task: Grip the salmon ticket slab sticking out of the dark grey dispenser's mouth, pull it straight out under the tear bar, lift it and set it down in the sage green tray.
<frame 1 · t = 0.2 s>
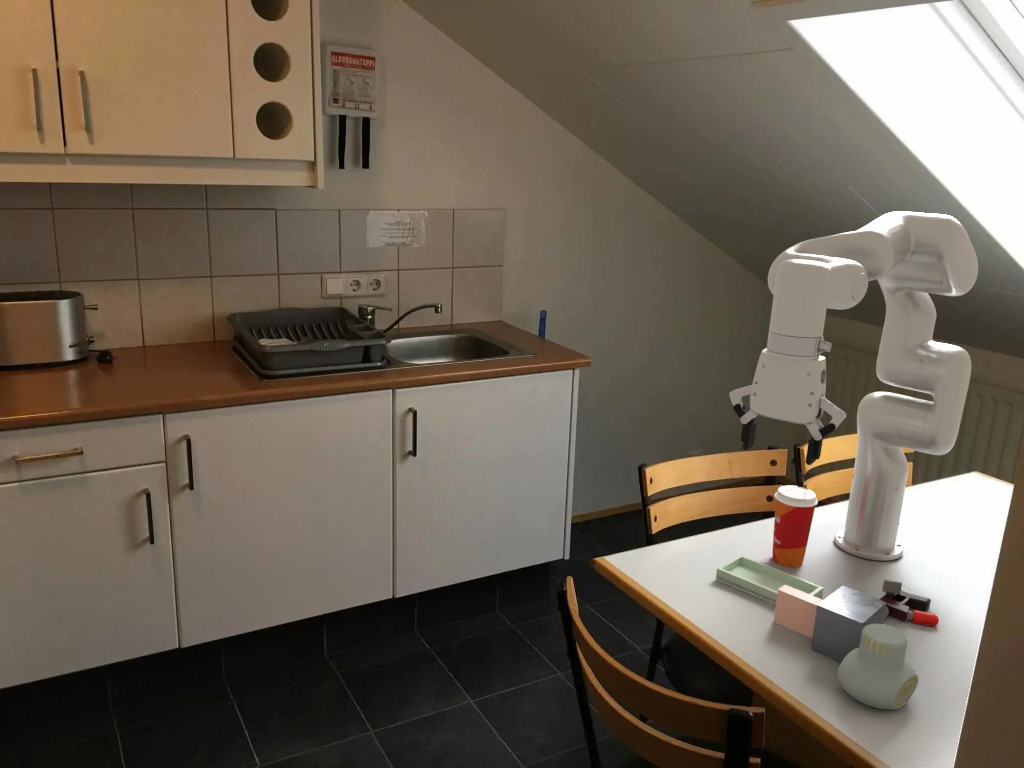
hand: (778, 454, 128), 30 cm above the table, tool pointing down, fingers open, 9 cm apart
tray: (768, 589, 149), on the table
air freshener: (873, 696, 120), on the table
ticket: (808, 633, 136), on the table
toy gun: (905, 619, 142), on the table
dispenser: (844, 648, 132), on the table
paper cup: (787, 561, 160), on the table
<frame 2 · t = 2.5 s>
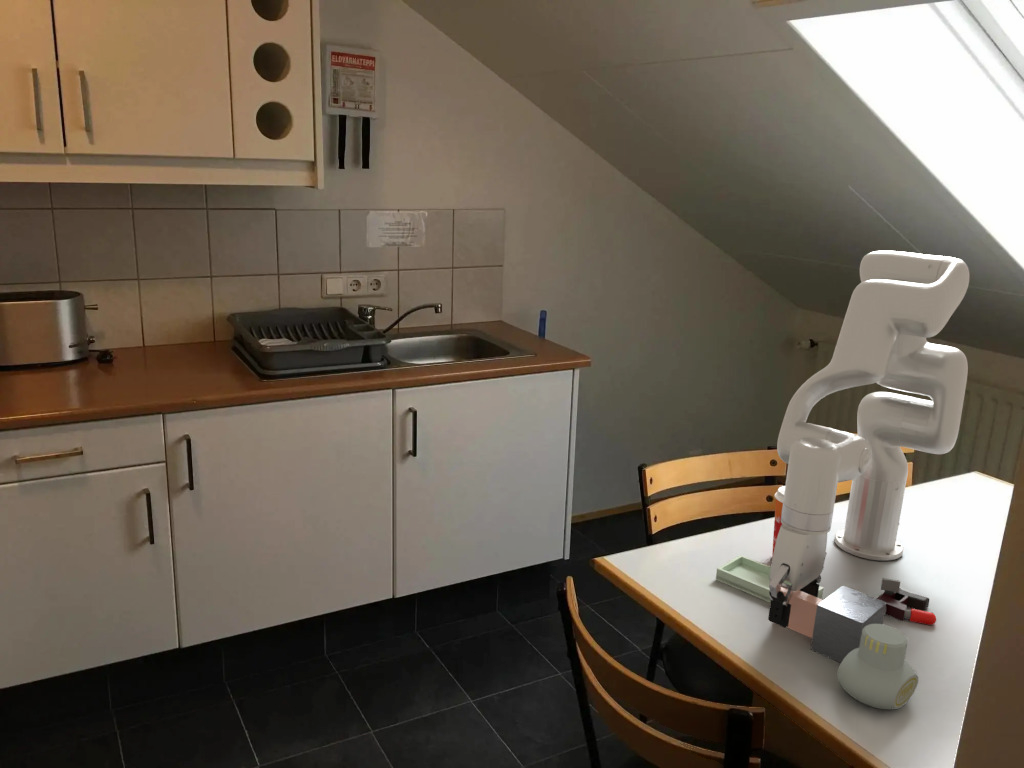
hand: (792, 613, 137), 2 cm above the table, tool pointing down, fingers open, 9 cm apart
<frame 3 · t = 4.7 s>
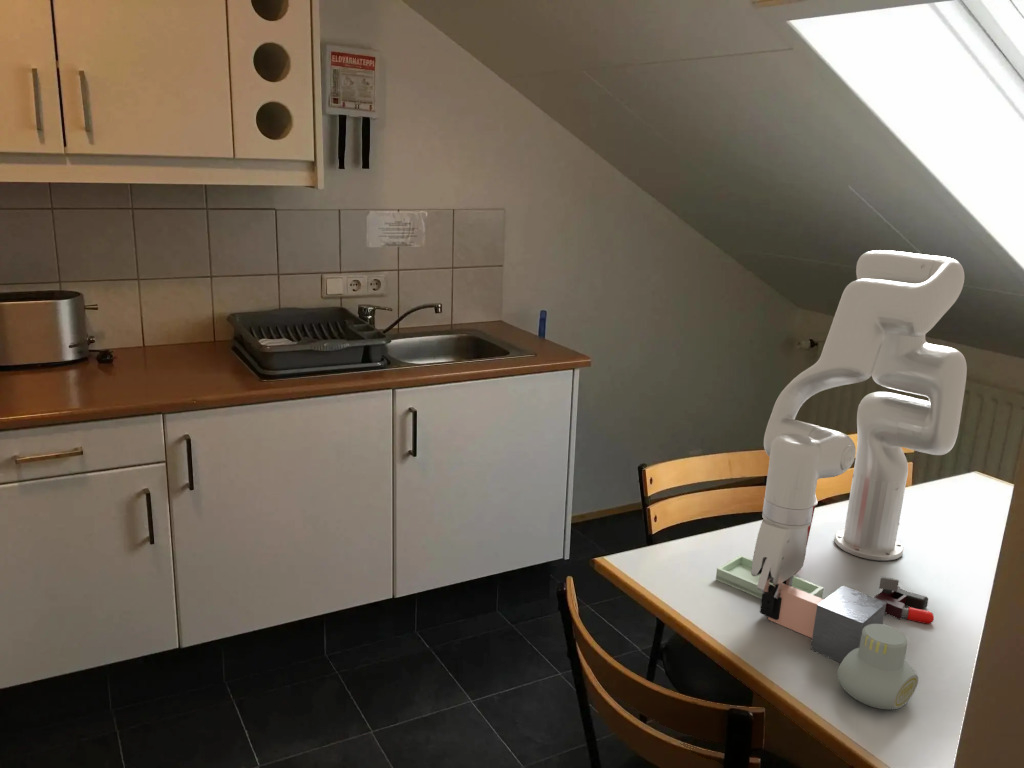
hand: (773, 612, 139), 1 cm above the table, tool pointing down, fingers closed on ticket, 2 cm apart
ticket: (803, 630, 136), on the table, touching gripper
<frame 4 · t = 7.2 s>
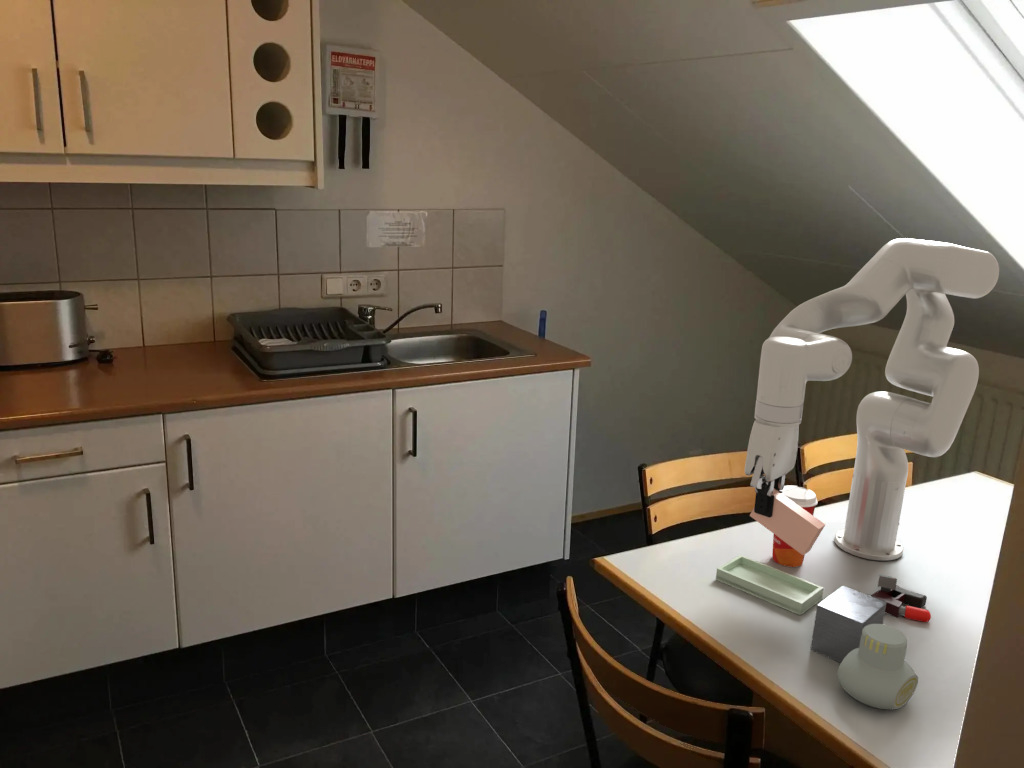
hand: (766, 511, 145), 15 cm above the table, tool pointing down, fingers closed on ticket
ticket: (779, 533, 144), point 12 cm above the table, tilted 20°, touching gripper
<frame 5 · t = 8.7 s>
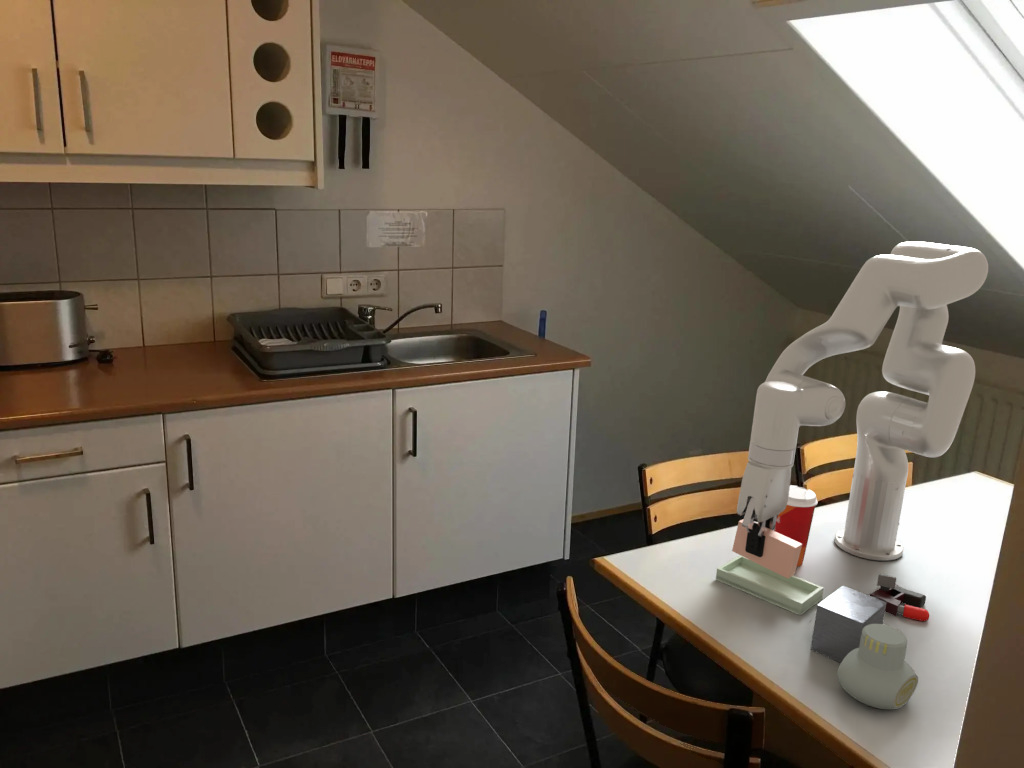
hand: (757, 551, 149), 6 cm above the table, tool pointing down, fingers closed on ticket
ticket: (762, 562, 148), point 5 cm above the table, tilted 5°, touching gripper
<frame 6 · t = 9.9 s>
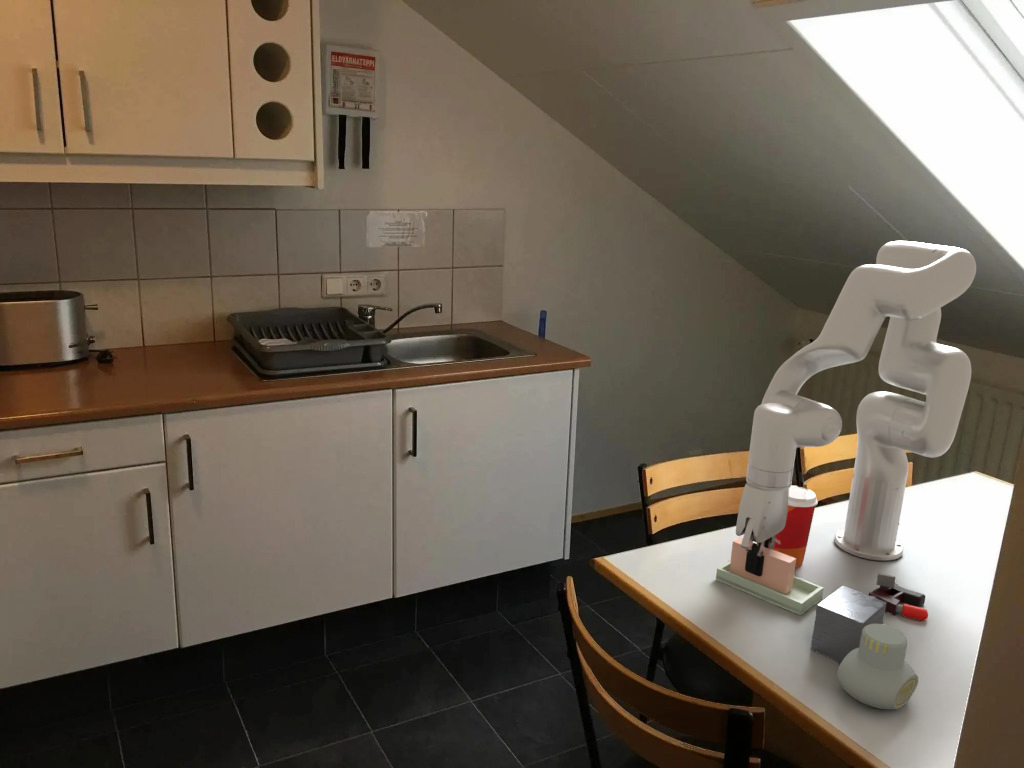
hand: (757, 570, 150), 3 cm above the table, tool pointing down, fingers closed on ticket, 1 cm apart
ticket: (760, 580, 150), point 1 cm above the table, touching gripper
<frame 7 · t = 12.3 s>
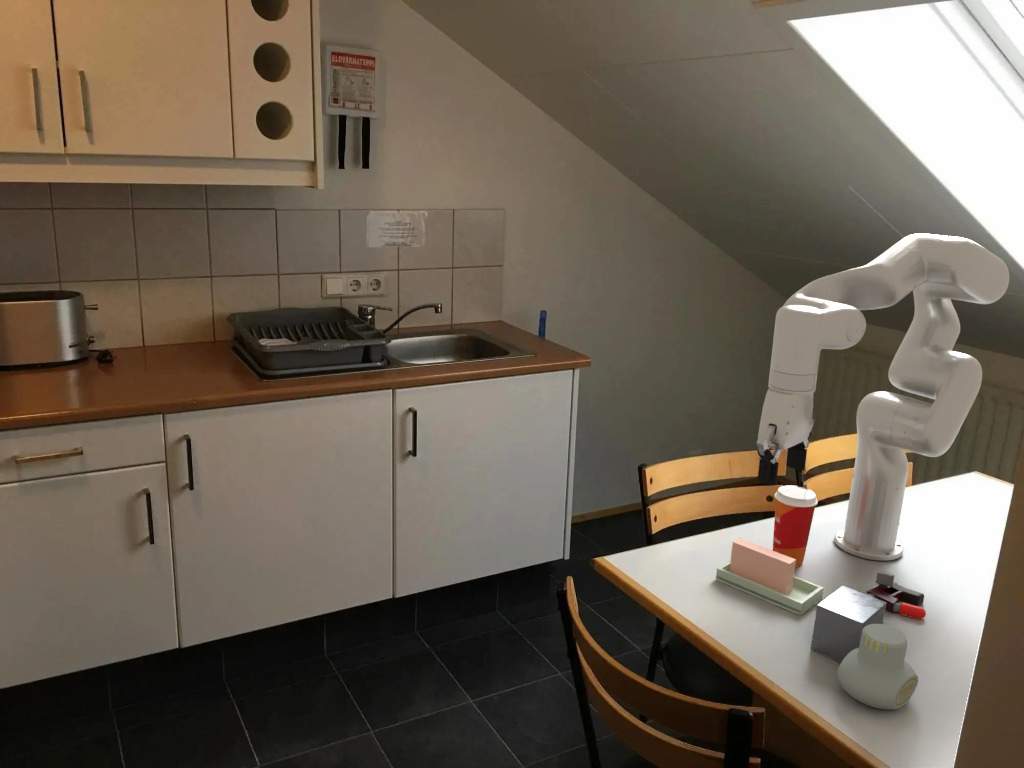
hand: (781, 475, 145), 21 cm above the table, tool pointing down, fingers open, 9 cm apart
ticket: (759, 581, 150), point 1 cm above the table, touching tray
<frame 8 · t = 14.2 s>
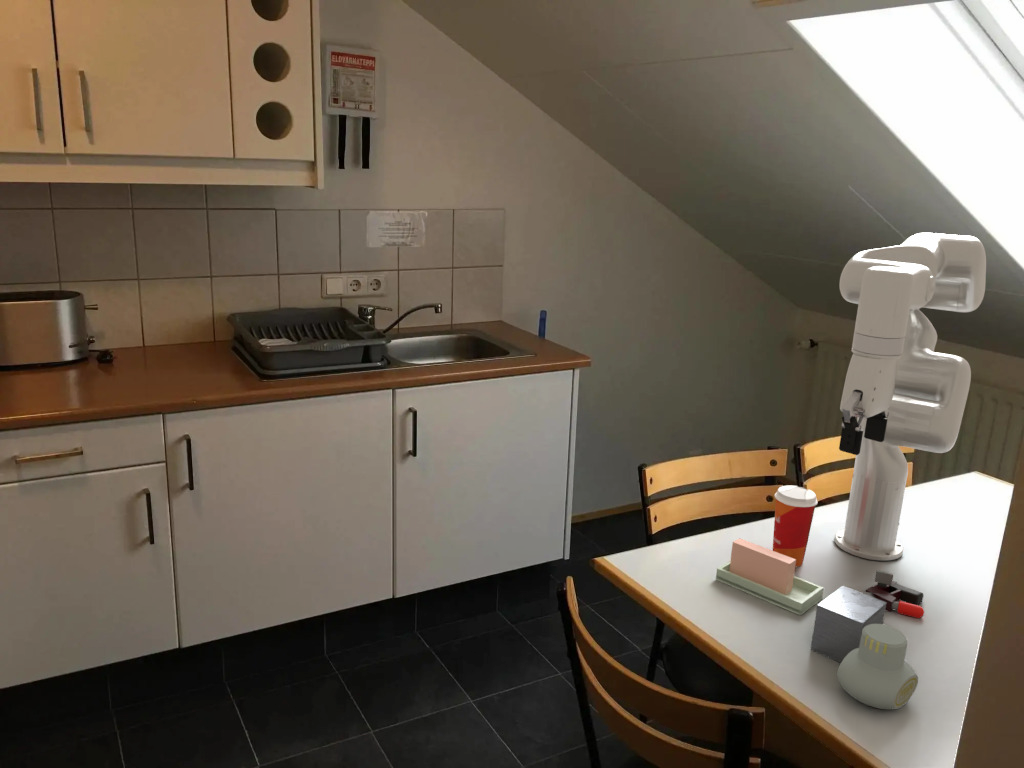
hand: (861, 446, 139), 28 cm above the table, tool pointing down, fingers open, 9 cm apart
at the end: ticket inside the target area on the tray (1.7 cm from its centre), point 0.8 cm above the tray's base; ticket touching tray; the gripper is holding nothing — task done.
